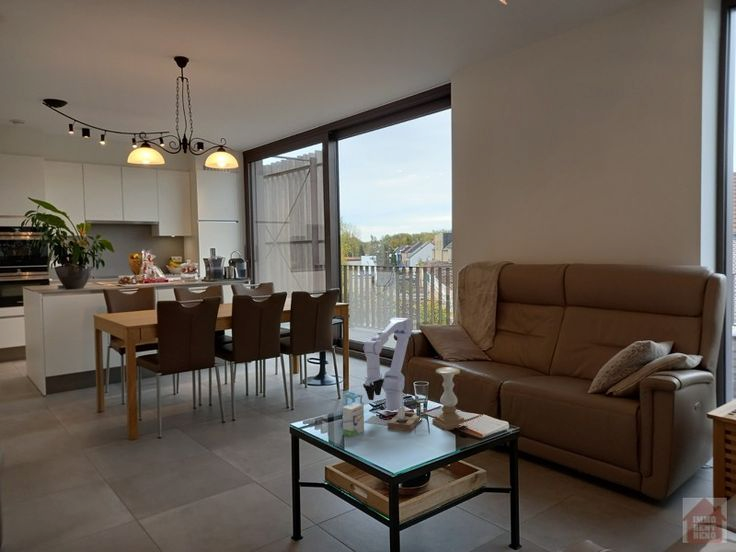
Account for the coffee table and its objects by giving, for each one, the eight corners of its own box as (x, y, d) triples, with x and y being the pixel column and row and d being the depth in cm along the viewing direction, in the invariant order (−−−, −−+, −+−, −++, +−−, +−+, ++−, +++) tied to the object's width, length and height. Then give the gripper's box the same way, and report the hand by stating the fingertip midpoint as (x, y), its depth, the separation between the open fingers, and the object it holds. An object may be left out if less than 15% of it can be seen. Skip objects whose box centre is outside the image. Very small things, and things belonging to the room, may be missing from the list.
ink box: (355, 428, 227) (354, 401, 227) (365, 431, 224) (363, 403, 223) (342, 435, 221) (341, 407, 220) (352, 437, 217) (351, 409, 217)
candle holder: (431, 423, 231) (430, 368, 229) (453, 418, 235) (451, 365, 234) (445, 430, 221) (444, 374, 219) (467, 426, 225) (466, 370, 224)
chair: (366, 417, 241) (365, 391, 240) (353, 422, 235) (352, 395, 235) (355, 414, 247) (354, 388, 246) (341, 418, 241) (340, 392, 240)
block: (400, 417, 239) (400, 411, 239) (422, 419, 235) (421, 413, 235) (387, 429, 225) (387, 422, 225) (409, 432, 221) (409, 425, 220)
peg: (399, 426, 228) (399, 405, 228) (406, 427, 227) (405, 406, 226) (396, 428, 226) (396, 407, 225) (403, 429, 224) (402, 408, 224)
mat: (372, 416, 243) (372, 415, 243) (393, 418, 239) (393, 417, 239) (363, 423, 234) (363, 422, 234) (384, 425, 230) (384, 425, 230)
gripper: (371, 363, 245) (372, 392, 246) (358, 370, 231) (359, 401, 232) (385, 364, 242) (386, 393, 243) (373, 371, 229) (374, 402, 229)
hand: (374, 397), depth 237 cm, fingers open, 7 cm apart
